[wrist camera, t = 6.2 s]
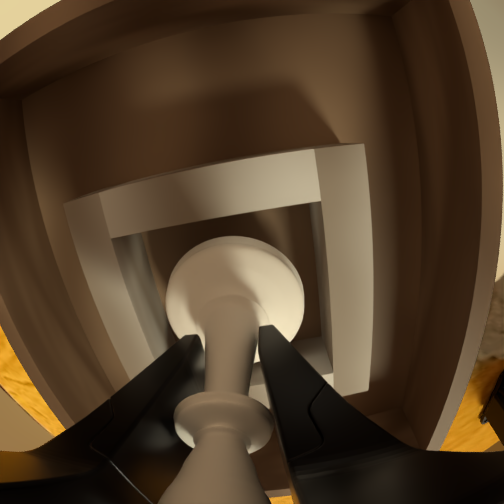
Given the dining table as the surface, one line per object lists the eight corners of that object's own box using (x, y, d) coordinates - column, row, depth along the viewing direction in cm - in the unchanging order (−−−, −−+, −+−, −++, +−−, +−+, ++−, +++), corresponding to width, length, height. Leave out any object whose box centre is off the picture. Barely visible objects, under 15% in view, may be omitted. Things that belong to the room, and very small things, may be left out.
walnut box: (396, 7, 9) (453, -37, 4) (407, 401, 16) (435, 458, 12) (19, 91, 10) (-53, 87, 5) (140, 434, 17) (122, 491, 13)
